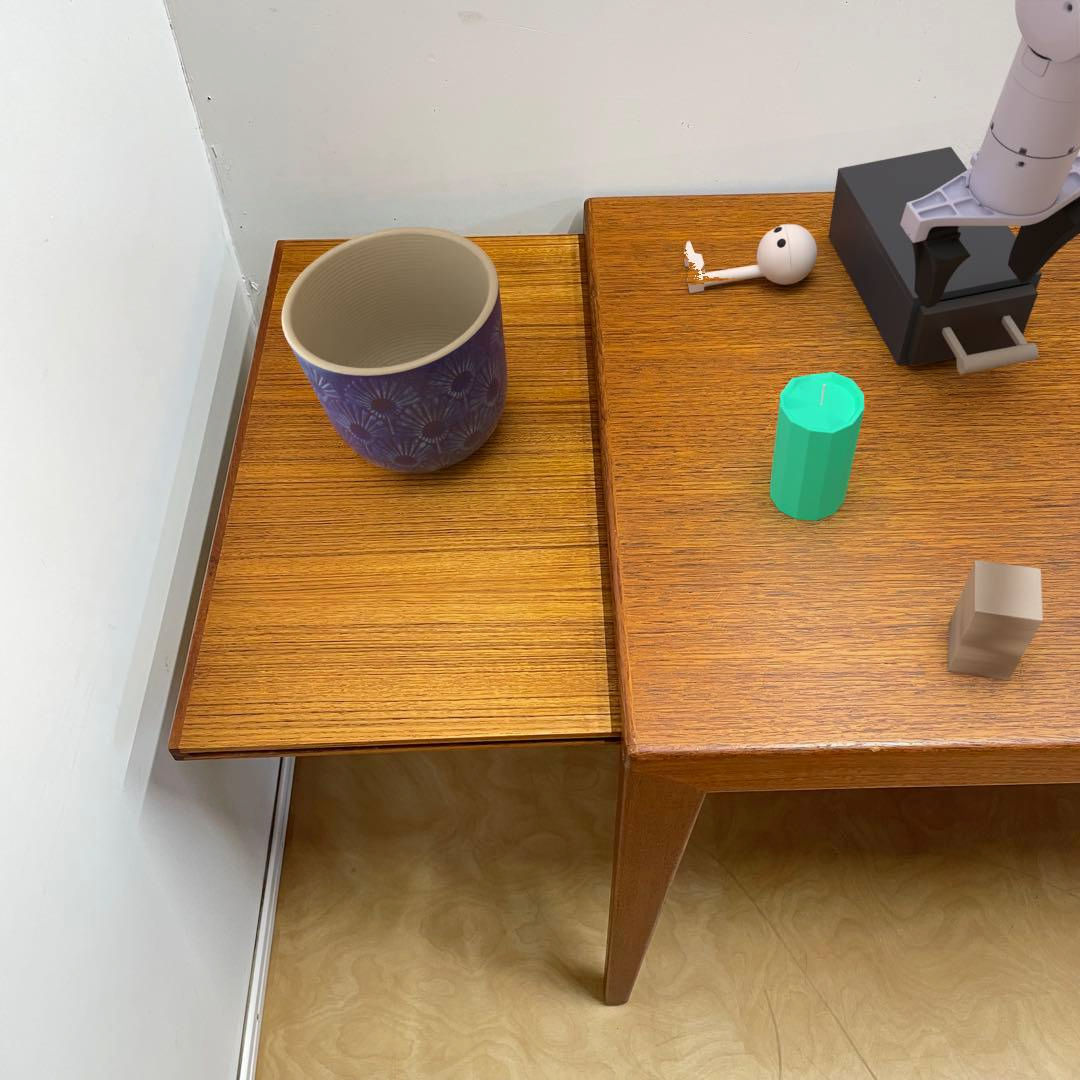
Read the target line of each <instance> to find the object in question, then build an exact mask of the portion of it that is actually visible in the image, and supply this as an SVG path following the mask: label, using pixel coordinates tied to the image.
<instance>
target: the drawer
mask: <svg viewBox="0 0 1080 1080" xmlns="http://www.w3.org/2000/svg"><path fill="white" fill-rule="evenodd" d="M1038 295H1039V291H1038V290H1037V289H1035V288H1034V286H1033V285H1032V284H1029V285H1024V286H1019V287H1014V288H1012V286H1010V287H1005V288H1000V289H995V290H990V291H984V292H979V293H974V294H969V295H964V296H959V297H953V298H948V299H943V300H939V302H938V303H937V304H936V305H935V306H934V307H930V308H925V306H924V305H923V303H922V304H921V306H919V309H918V313H917V317H916V321H915V326H914V330H913V334H912V338H911V342H910V346H909V350H908V354H907V359H908V361H909V363H910V364H909V365H910V366H911V367H916V366H921V365H926V364H932V363H936V362H943V361H947V360H951V359H956V369H957V372H958V373H959V374H960V375H964V374H966V375H967V374H970V373H975V372H976V373H977V372H981V371H986V370H990V369H991V370H993V369H996V368H1002V367H1006V366H1011V365H1018V364H1021V363H1027V362H1032V361H1036V360H1037V359H1038V358H1039V348H1038V346H1037V344H1036V343H1035V342H1028V340H1027V339H1026V338H1025V337H1024V332H1025V330H1026V327H1027V325H1028V323H1029V319H1030V317H1031V314H1032V311H1033V308H1034V306H1035V304H1036V300H1037V298H1038Z"/></svg>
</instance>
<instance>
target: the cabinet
mask: <svg viewBox="0 0 1080 1080" xmlns="http://www.w3.org/2000/svg"><path fill="white" fill-rule="evenodd" d="M967 170H968V169H967V166H966V165H965V163H963V162H962V160H961V159H960V157H959V155H957V153H956V151H955V150H954V149H953V148H952V146H948V147H947V146H946V147H942V148H936V149H931V150H926V151H922V152H921V151H920V152H915V153H910V154H905V155H901V156H900V155H899V156H897V157H891V158H885V159H879V160H874V161H870V162H864V163H859V164H855V165H849V166H844V167H843V166H842V167H839V168H838V169H837V174H836V181H835V187H834V194H833V203H832V208H831V215H830V223H829V228H828V229H829V230H828V238H829V241H830V243H831V244H832V246H833V248H834V250H835V251H836V254H837V256H838V258H839V259H840V262H841V263H842V265H843V267H844V269H845V270H846V272H847V274H848V276H849V278H850V280H851V281H852V283H853V285H854V287H855V289H856V291H857V293H858V295H859V297H860V299H861V301H862V302H863V305H864V306H865V308H866V310H867V311H868V313H869V315H870V318H871V319H872V321H873V323H874V325H875V327H876V328H877V330H878V332H879V334H880V336H881V338H882V339H883V342H884V343H885V345H886V347H887V349H888V351H889V352H890V355H891V356H892V358H893V360H894V362H895V364H896V366H897V367H901V366H905V365H910V363H909V361H908V359H907V354H908V350H909V346H910V342H911V338H912V334H913V330H914V326H915V321H916V317H917V313H918V309H919V306H921V304H922V302H921V300H920V299H919V297H918V296H917V294H916V293H915V291H914V288H915V257H914V250H913V245H912V241H911V239H910V238H909V237H908V235H907V234H906V233H905V231H904V229H903V228H902V226H901V225H900V223H901V220H902V217H903V214H904V210H905V207H906V204H907V202H910V201H914V200H917V199H920V198H922V197H924V196H926V195H928V194H930V193H931V192H933V191H935V190H936V189H938V188H939V187H941V186H943V185H944V184H946V183H947V182H949V181H951V180H952V179H954V178H955V177H957V176H959V175H960V174H962V173H963V172H965V171H967ZM958 232H960V233H961V235H960V238H959V240H960V241H961V243H962V244H963V245H964V247H965V248H966V250H967V251H968V252H969V254H970V255H971V256H970V257H969V258H967V259H966V260H965V261H964V262H963V263H962V264H961V265H960V266H959V267H958V268H957V269H956V271H955V272H954V273H953V275H952V276H951V278H950V280H949V281H948V284H947V286H946V288H945V290H944V292H943V295H942V297H941V299H940V300H943V299H948V298H953V297H959V296H964V295H969V294H974V293H979V292H984V291H990V290H995V289H1000V288H1005V287H1010V286H1012V288H1014V287H1019V286H1024V285H1029V284H1032V285H1033V286H1034V288H1035V289H1036V290H1037V289H1038V286H1039V285H1040V284H1039V283H1040V281H1041V278H1042V276H1043V272H1042V271H1041V269H1040V270H1039V271H1038V272H1037V273H1036V274H1035V275H1034V277H1033V278H1032V279H1030V280H1029V281H1028V282H1024V283H1021V282H1020V281H1019V279H1018V278H1017V277H1016V275H1015V274H1014V273H1013V271H1012V270H1011V269H1010V267H1009V266H1008V261H1009V256H1010V252H1011V250H1012V247H1013V244H1014V242H1015V239H1016V237H1017V235H1016V234H1015V233H1014V232H1013V231H1012V229H1011V227H1010V226H959V228H958Z"/></svg>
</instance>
